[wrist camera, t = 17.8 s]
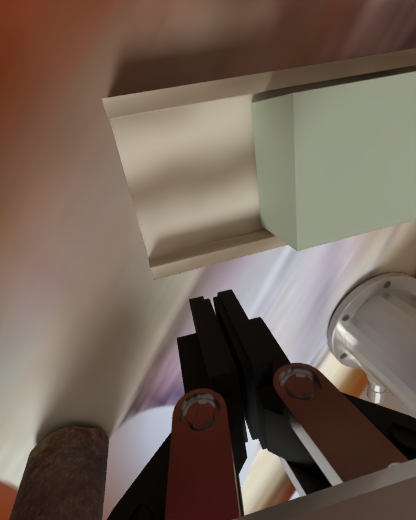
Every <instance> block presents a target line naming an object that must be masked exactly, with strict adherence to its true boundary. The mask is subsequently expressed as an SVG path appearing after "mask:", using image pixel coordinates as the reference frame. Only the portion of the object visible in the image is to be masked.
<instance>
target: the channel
mask: <svg viewBox="0 0 416 520" xmlns="http://www.w3.org/2000/svg"><path fill="white" fill-rule="evenodd" d="M415 71H416V48H412V49H406V50H400V51H394V52H387V53H381V54H375V55H369V56H363V57H356V58H350V59H344V60H338V61H332V62H326V63H319V64H313V65H307V66H301V67H295V68H288V69H282V70H276V71H270V72H264V73H258V74H251V75H245V76H239V77H233V78H227V79H220V80H214V81H208V82H202V83H196V84H190V85H183V86H177V87H171V88H165V89H159V90H152V91H146V92H140V93H134V94H128V95H121V96H115V97H109V98H103V99H102V101H103V104H104V108H105V111H106V115H107V118H108V119H110V122H111V126H112V130H113V133H114V137H115V140H116V144H117V147H118V151H119V154H120V158H121V161H122V165H123V168H124V172H125V176H126V179H127V183H128V186H129V190H130V193H131V197H132V200H133V204H134V207H135V211H136V215H137V218H138V222H139V225H140V229H141V232H142V236H143V239H144V243H145V246H146V250H147V253H148V257H149V263H150V269H151V273H152V276H153V280H155V279H159V278H163V277H166V276H170V275H174V274H178V273H182V272H186V271H189V270H193V269H197V268H201V267H205V266H208V265H212V264H216V263H220V262H224V261H228V260H231V259H235V258H239V257H243V256H247V255H251V254H254V253H258V252H262V251H266V250H270V249H274V248H277V247H281V246H285V245H288V244H287V243H285V242H284V241H282V240H281V239H280V238H278V237H277V236H275V235H274V234H273V233H271V232H270V231H268V230H267V229H266V228H264V227H263V226H261V218H260V206H259V194H258V182H257V170H256V159H255V147H254V135H253V123H252V111H251V103H254V102H258V101H262V100H266V99H270V98H274V97H279V96H283V95H287V94H291V93H296V92H302V91H307V90H313V89H319V88H324V87H330V86H336V85H341V84H347V83H353V82H359V81H364V80H370V79H376V78H381V77H387V76H393V75H398V74H404V73H410V72H415Z"/></svg>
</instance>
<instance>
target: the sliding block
mask: <svg viewBox="0 0 416 520" xmlns="http://www.w3.org/2000/svg"><path fill="white" fill-rule="evenodd" d="M251 111H252V123H253V135H254V147H255V159H256V170H257V182H258V194H259V206H260V218H261V226H263V227H264V228H266V229H267V230H268V231H270V232H271V233H273V234H274V235H275V236H277V237H278V238H280V239H281V240H282V241H284V242H285V243H287V244H288V245H289V246H291V247H292V248H294V249H295V250H296V251H300V250H303V249H307V248H311V247H315V246H318V245H322V244H326V243H330V242H333V241H337V240H341V239H345V238H348V237H352V236H356V235H360V234H363V233H367V232H371V231H375V230H378V229H382V228H386V227H390V226H393V225H397V224H401V223H405V222H408V221H412V220H416V71H415V72H410V73H404V74H398V75H393V76H387V77H381V78H376V79H370V80H364V81H359V82H353V83H347V84H341V85H336V86H330V87H324V88H319V89H313V90H307V91H302V92H296V93H291V94H287V95H283V96H279V97H274V98H270V99H266V100H262V101H258V102H254V103H251Z"/></svg>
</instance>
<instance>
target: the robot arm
mask: <svg viewBox="0 0 416 520" xmlns="http://www.w3.org/2000/svg"><path fill="white" fill-rule="evenodd" d="M217 294H218V296H217V297H213V301H214V307H215V312H214V309H213V307H212V304H211V302H210V299H205V300H204V298H203V296H201V297H197V298H193V299H189V302H190V307H191V311H192V316H193V321H194V325H195V330H196V333H194V334H190V335H186V336H182V337H178V338H177V344H178V350H179V357H180V364H181V370H182V377H183V384H184V390H185V395H184V396H183V397H182V398H180V399H179V400H178V402H177V404H176V405H175V407H174V411H173V417H172V431H171V433H170V434H169V436H168V437H167V438H166V440H165V441H164V442H163V444H162V445H161V446H160V448H159V449H158V450H157V452H156V453H155V454H154V456H153V457H152V458H151V460H150V461H149V462H148V464H147V465H146V466H145V468H144V469H143V470H142V472H141V473H140V474H139V476H138V477H137V478H136V480H135V481H134V482H133V483H132V485H131V486H130V488H129V489H128V490H127V491H126V493H125V494H124V495H123V497H122V498H121V499H120V501H119V502H118V504H117V505H116V506H115V507H114V509H113V510H112V512H111V514H110V515H109V517H108V519H107V520H416V279H415V278H413V277H411V276H409V275H407V274H404V273H398V272H395V273H386V274H382V275H378V276H376V277H374V278H371V279H369V280H367V281H366V282H364V283H362V284H361V285H359V286H358V287H357V288H355V289H354V290H353V291H352V292H351V293H350V294H349V295H348V296H347V297H346V298H345V299H344V300H343V301H342V302H341V304H340V305H339V307H338V308H337V309H336V311H335V313H334V315H333V317H332V319H331V322H330V325H329V328H328V335H327V339H328V346H329V349H330V351H331V352H332V354H333V355H334V356H335V357H336V359H337V360H338V361H339V362H340V363H342V364H344V365H345V366H348V367H352V368H361V369H362V370H363V371H364V372H365V373H366V375H367V379H368V380H369V383H368V389H367V396H368V398H369V399H370V400H371V401H373V402H374V403H383V402H384V400H385V396H386V390H387V391H388V392H389V393H390V394H391V395H392V396H393V397H394V398H395V399H396V400H397V401H398V402H399V403H400V404H401V405H402V406H403V407H404V408H405V409H406V410H407V411H408V412H409V413H410V414H411V415H412V416H413V417H411V416H409V415H406V414H403V413H400V412H397V411H394V410H391V409H388V408H385V407H383V406H380V405H377V404H374V403H371V402H368V401H365V400H362V399H359V398H356V397H353V396H350V395H348V394H345V393H342V392H340V391H339V390H338V389H337V388H336V387H335V386H334V385H333V384H332V383H331V382H330V381H329V380H328V379H327V378H326V377H325V376H324V375H323V374H322V373H321V372H320V371H319V370H317V369H316V368H314V367H312V366H310V365H308V364H303V363H290V361H289V360H288V358H287V357H286V355H285V354H284V352H283V350H282V349H281V347H280V346H279V344H278V343H277V341H276V340H275V338H274V337H273V335H272V333H271V332H270V330H269V329H268V327H267V326H266V324H265V323H264V321H263V320H262V318H260V317H258V318H254V319H250V320H249V319H248V317H247V315H246V314H245V312H244V310H243V308H242V307H241V305H240V303H239V301H238V300H237V298H236V296H235V294H234V293H233V291H232V290H227V291H222V292H218V293H217ZM215 313H216V315H215ZM244 417H245V418H244ZM245 420H246V423H247V426H248V429H249V432H250V434H251V437H252V439H253V440H255V439H259V441H260V444H261V447H262V449H266V448H267V449H268V451H270V452H272V453H273V454H275V455H277V456H279V457H280V461H281V463H282V466H283V467H284V469H285V471H286V473H287V474H288V476H289V478H290V479H291V481H292V483H293V485H294V486H295V488H296V490H297V492H298V493H299V495H300V497H299V498H296V499H293V500H290V501H287V502H284V503H281V504H278V505H275V506H272V507H269V508H266V509H263V510H260V511H257V512H254V513H251V514H248V515H245V516H244V508H243V501H242V493H241V486H240V479H239V473H240V471H241V469H242V467H243V465H244V463H245V461H246V459H247V453H246V446H245V442H248V438H247V432H246V425H245Z"/></svg>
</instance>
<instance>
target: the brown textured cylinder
mask: <svg viewBox="0 0 416 520" xmlns="http://www.w3.org/2000/svg"><path fill="white" fill-rule="evenodd" d="M108 445H109V440H108V437H107V436H106V434H105V433H104V432H103V431H102V430H101V429H100V428H89V427H88V428H86V427H80V426H70V427H67V428H62V429H59V430H58V431H56V432H53V433H51V434H50V435H48V436H47V437H46V438H45V439H43V440H42V441H41V442H40V443H39V444H37V445H36V446H35V447H34V449H33V450H32V451H31V453H30V454H29V458H28V461H27V464H26V468H25V471H24V474H23V477H22V480H21V483H20V486H19V490H18V494H17V497H16V500H15V503H14V506H13V509H12V513H11V516H10V519H9V520H102V514H103V503H104V494H105V482H106V470H107V457H108Z"/></svg>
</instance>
